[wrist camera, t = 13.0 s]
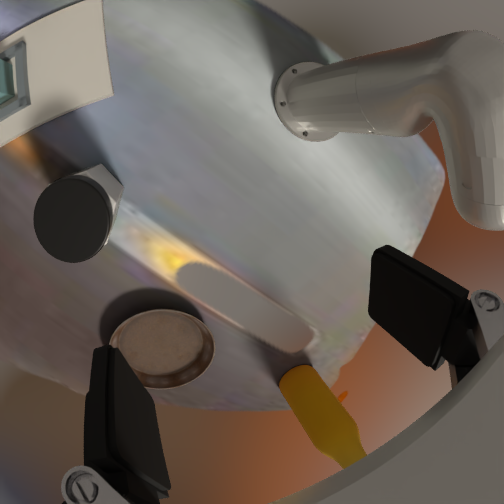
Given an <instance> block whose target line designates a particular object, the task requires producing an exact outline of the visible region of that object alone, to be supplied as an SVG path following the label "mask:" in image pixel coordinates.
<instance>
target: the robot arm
mask: <svg viewBox="0 0 504 504" xmlns="http://www.w3.org/2000/svg"><path fill="white" fill-rule="evenodd" d="M292 71H293V73H292ZM274 100H275V107H276V110H277V113H278V116H279V118H280V120H281V121H282V123H283V124H284V126H285V127H286V128H287V129H288V130H289V131H290V132H291V133H292V134H294V135H295V136H297V137H299V138H301V139H304V140H307V141H316V142H320V141H326V140H328V139H331V138H333V137H334V136H336V135H337V134H338V133H339V132H345V133H360V134H373V135H383V136H393V137H409V136H413V135H415V134H418V133H419V132H421V131H422V130H423V129H425V128H426V127H427V126H428V125H429V124H430V123H431V122H432V121H433V120H434V121H435V123H436V125H437V128H438V131H439V135H440V139H441V141H442V144H443V148H444V153H445V159H446V164H447V170H448V176H449V182H450V189H451V194H452V198H453V202H454V204H455V207H456V209H457V210H458V212H459V214H460V215H461V216H462V217H463V218H464V219H465V220H466V221H467V222H469V223H470V224H472V225H474V226H476V227H479V228H483V229H487V230H504V43H503V42H502V41H501V40H500V39H498V38H497V37H495V36H494V35H491V34H489V33H486V32H483V31H477V30H473V31H470V30H469V31H468V30H467V31H460V32H454V33H450V34H447V35H443V36H440V37H436V38H433V39H430V40H427V41H423V42H419V43H416V44H412V45H409V46H404V47H400V48H395V49H390V50H386V51H381V52H376V53H372V54H367V55H363V56H358V57H354V58H351V59H346V60H343V61H339V62H335V63H332V64H328V65H325V66H324V65H322V64H319V63H316V62H301V63H298V64H295V65H293V66H291V67H289V68H288V69H287V70H285V71H284V72H283V74H282V75H281V76H280V78H279V80H278V82H277V84H276V88H275V96H274ZM280 103H281V104H282V105H280ZM468 294H469V290H467V289H465V288H463V287H462V286H460V285H459V284H457V283H456V282H454V281H452V280H450V279H449V278H447V277H445V276H444V275H442V274H440V273H439V272H437V271H435V270H434V269H432V268H430V267H428V266H427V265H425V264H423V263H421V262H419V261H418V260H416V259H414V258H412V257H410V256H409V255H407V254H405V253H403V252H401V251H400V250H398V249H396V248H394V247H392V246H390V245H385V246H383V247H380V248H378V249H376V250H375V251H374V253H373V255H372V258H371V277H370V293H369V305H368V313H369V316H370V317H371V318H372V319H373V320H374V321H375V322H376V323H377V324H379V325H380V326H381V327H382V328H383V329H384V330H386V331H387V332H388V333H389V334H390V335H391V336H393V337H394V338H395V339H396V340H397V341H398V342H399V343H401V344H402V345H403V346H404V347H405V348H407V350H409V351H410V352H411V353H412V354H413V355H414V356H415V357H417V358H418V359H419V360H420V361H421V362H422V363H423V364H424V365H426V366H428V367H429V366H430V367H431V368H432V369H433V370H437V369H438V368H439V367H440V366H441V365H442V364H443V363H444V361H445V360H447V361H448V363H449V370H450V377H451V385H452V390H451V391H450V392H449V393H448V394H446V396H444V397H443V398H442V399H441V400H440V401H439V402H438V403H437V404H436V405H434V406H433V407H432V408H431V409H430V410H429V411H427V412H426V413H425V414H424V415H423V416H421V417H420V418H419V419H418V420H416V421H415V422H414V423H413V424H411V425H410V426H409V427H407V428H406V429H405V430H403V431H402V432H401V433H399V434H398V435H397V436H396V437H394V438H392V439H391V440H390V441H388V442H387V443H385V444H384V445H382V446H381V447H379V448H378V449H376V450H375V451H373V452H372V453H370V454H368V455H367V456H365V457H364V458H362V459H360V460H359V461H357V462H355V463H354V464H352V465H350V466H348V467H347V468H345V469H343V470H341V471H339V472H338V473H336V474H334V475H332V476H330V477H328V478H326V479H324V480H322V481H320V482H318V483H316V484H314V485H312V486H310V487H308V488H305V489H303V490H301V491H299V492H296V493H294V494H292V495H289V496H287V497H284V498H282V499H280V500H277V501H274V502H271V503H268V504H504V303H503V301H502V300H501V298H500V297H499V296H498V295H497V294H495V293H493V292H491V291H488V290H477V291H475V292H473V294H472V295H471V299H470V300H468V299H467V297H468ZM170 489H171V484H170V480H169V476H168V471H167V468H166V463H165V458H164V454H163V449H162V444H161V439H160V434H159V428H158V423H157V417H156V410H155V404H154V401H153V399H152V397H151V395H150V394H149V393H148V391H147V390H146V388H145V387H144V386H143V384H142V383H141V381H140V380H139V379H138V377H137V376H136V374H135V373H134V371H133V370H132V368H131V367H130V365H129V364H128V362H127V361H126V359H125V357H124V356H123V354H122V353H121V351H120V350H119V348H118V347H115V348H113V346H112V345H106V346H102V347H99V348H95V349H94V352H93V359H92V368H91V377H90V388H89V392H88V393H87V394H86V400H85V417H84V466H76V467H73V468H72V469H70V470H69V471H67V473H66V474H65V475H64V477H63V480H62V484H61V491H62V495H63V497H64V499H65V501H64V502H63V503H62V504H160V502H159V499H163V498H168V497H169V495H168V491H167V490H170Z"/></svg>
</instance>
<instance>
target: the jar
mask: <svg viewBox="0 0 504 504" xmlns="http://www.w3.org/2000/svg"><path fill="white" fill-rule="evenodd" d="M123 190H124V187H123V186H122V185H121V184H120V183H119V182H118V181H117V180H116V179H115V177H114V176H113V175H112V174H111V173H110V172H109V171H108V170H107V169H106V168H105V167H104V166H103V165H102V164H98V165H95V166H92V167H89V168H86V169H83V170H80V171H77V172H74V173H71V174H69V175H67V176H65V177H63V178H60V179H58V180H56V181H54V182H52V183H50V184H49V185H48V186H47V188H46V189H45V190H44V191H43V192H42V194H41V195H40V197H39V198H38V201H37V203H36V206H35V210H34V228H35V232H36V235H37V238H38V240H39V242H40V244H41V245H42V246H43V248H44V249H45V250H46V251H47V252H48V253H49V254H50V255H52V256H53V257H55V258H56V259H59V260H61V261H64V262H70V263H77V262H82V261H85V260H88V259H90V258H91V257H93V256H94V255H96V254H97V253H98V252H99V251H100V250H101V248H102V247H103V246H104V245H106V244H107V242H108V239H109V236H110V234H111V231H112V228H113V226H114V223H115V221H116V217H117V213H118V209H119V205H120V201H121V197H122V194H123Z"/></svg>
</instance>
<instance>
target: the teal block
mask: <svg viewBox="0 0 504 504" xmlns="http://www.w3.org/2000/svg"><path fill="white" fill-rule="evenodd" d="M14 96H15V91H14V80H13V65H12V64H10V63H8V62H6V61H4V60H1V59H0V105H1V104H3V103H4V102H6V101H8V100H9V99H11V98H13V97H14Z"/></svg>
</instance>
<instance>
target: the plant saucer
mask: <svg viewBox="0 0 504 504" xmlns="http://www.w3.org/2000/svg"><path fill="white" fill-rule="evenodd" d="M109 345H112V346H113V348H115V347H118V348H119V350H120V351H121V353H122V354H123V356H124V357H125V359H126V361H127V362H128V364H129V365H130V367H131V368H132V370H133V371H134V373H135V374H136V376H137V377H138V379H139V380H140V381H141V383H142V384H143V386H144V387H145V388H150V389H170V388H176V387H180V386H183V385H185V384H188V383H190V382H192V381H194V380H195V379H197V378H198V377H199V376H201V375H202V374H203V373H204V372H205V371H206V370H207V369H208V367H209V366H210V364H211V362H212V360H213V358H214V354H215V341H214V338H213V335H212V333H211V331H210V330H209V329H208V327H207V326H206V325H205V324H204V323H203V322H201V321H200V320H199V319H197V318H196V317H194V316H192V315H190V314H187V313H185V312H182V311H178V310H173V309H152V310H147V311H143V312H140V313H138V314H135V315H133V316H131V317H130V318H128V319H127V320H125V321H124V322H123V323H122V324H120V325H119V326H118V327H117V329H116V330H115V331H114V333H113V335H112V337H111V339H110V342H109Z"/></svg>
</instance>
